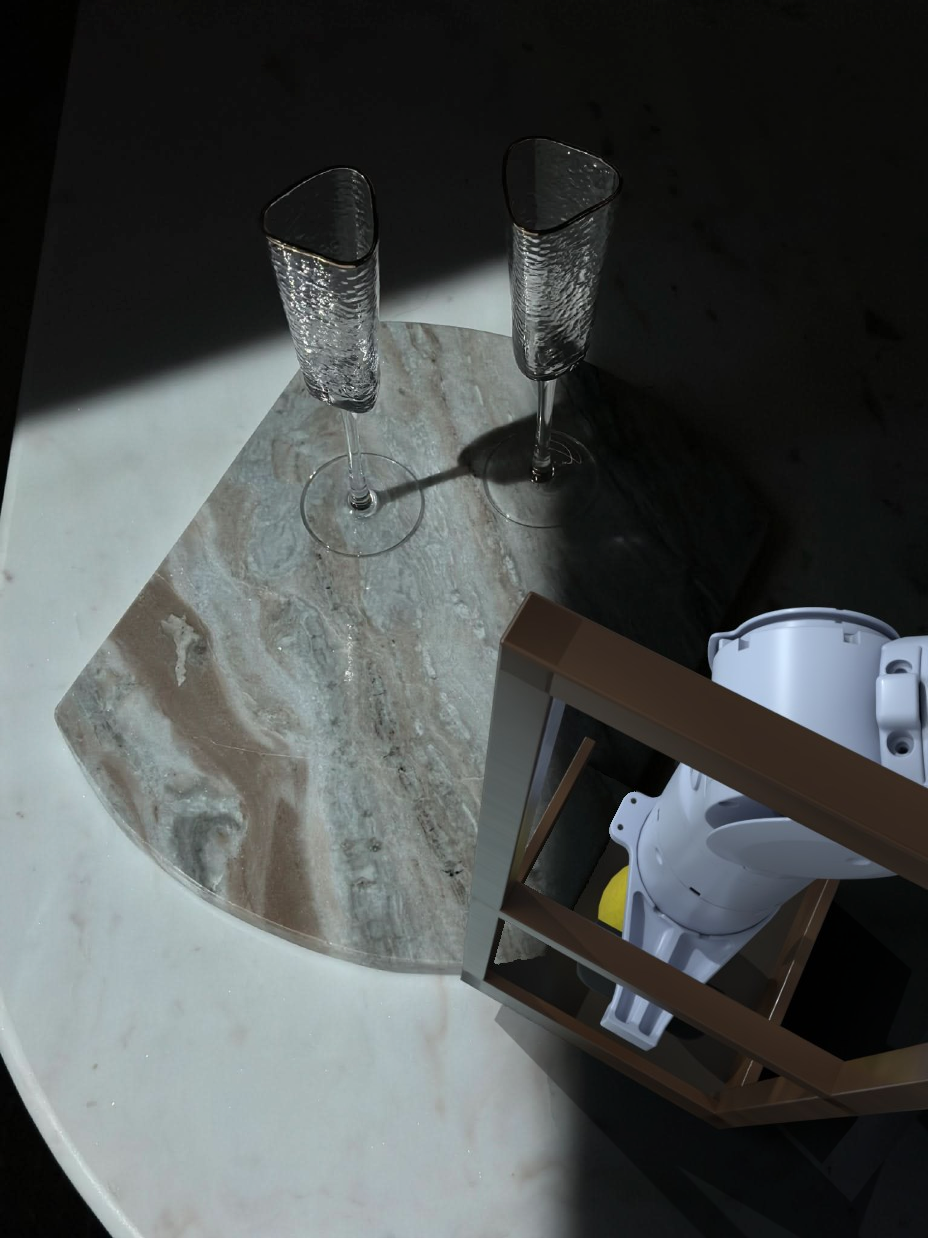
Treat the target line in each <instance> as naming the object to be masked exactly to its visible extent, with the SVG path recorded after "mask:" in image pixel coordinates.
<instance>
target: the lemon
mask: <svg viewBox="0 0 928 1238" xmlns="http://www.w3.org/2000/svg"><path fill="white" fill-rule="evenodd" d="M628 869H629V865H628V866H626V867H624V868H623V869H622V870H621V871H620V872H618V873H617V874H616V875H615V876H614V877H613V878H612V879H611V881H610V882H609V884H608V885H607V887H606V889H605V890H604V892H603V895H602V898H601V901H600V905H599V914H598V919H600V920H601V921H603V922H605V923H607V924H609V925H610V926H612V927H614V928H616V929H618V930H620V931H621V932H623V921H624V911H625V901H626V890H627V880H628Z"/></svg>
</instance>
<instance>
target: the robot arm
mask: <svg viewBox="0 0 928 1238" xmlns="http://www.w3.org/2000/svg"><path fill="white" fill-rule="evenodd" d="M707 657H708V664H709V668H710V670H711V680H712V681H714V682H716V683H718V684H720V685H722V686H724V687H726V688H728V689H730V690H732V691H734V692H736V693H738V694H740V695H742V696H744V697H746V698H748V699H750V700H752V701H754V702H756V703H758V704H760V705H762V706H764V707H766V708H768V709H770V710H772V711H774V712H776V713H778V714H780V715H782V716H784V717H786V718H788V719H790V720H792V721H794V722H796V723H798V724H800V725H802V726H804V727H806V728H808V729H810V730H812V731H814V732H816V733H818V734H820V735H822V736H824V737H826V738H828V739H830V740H832V741H834V742H836V743H838V744H840V745H842V746H844V747H846V748H848V749H850V750H852V751H854V752H856V753H858V754H860V755H862V756H864V757H866V758H868V759H870V760H872V761H874V762H876V763H878V764H880V765H882V766H884V767H886V768H888V769H890V770H892V771H894V772H896V773H898V774H900V775H902V776H904V777H906V778H908V779H910V780H912V781H914V782H916V783H918V784H920V785H922V786H924V787H926V788H928V635H915V636H904V637H901V636H900V634H899V633H898V632H897V630H895V629H894V628H893V626H890V625H889V624H888V623H886V622H884V621H883V620H880V619H878V618H877V617H873V616H871V615H868V614H864V613H861V612H858V611H853V610H848V609H842V610H841V609H837V608H835V607H820V606H819V607H816V606H815V607H811V606H810V607H809V606H808V607H791V608H784V609H778V610H774V611H770V612H765V613H762V614H760V615H757V616H754V617H752V618H750V619H748V620H746V621H745V622H742V624H740V625H739V626H738V627H737V628H736V629H734V630H730V631H725V632H715V633H713V634H711V636H710V637H709V641H708V647H707ZM674 767H675V771H674V772H673V774H672V776H671V777H670V780H669V781H668V783H667V784H666V786H665V787H664V789H663V791H662V793H661V794H660V795H659V796H657V797H651V796H649V795H647V794H645V793H643V792H641V793H639V792H640V791H639V792H635V791H634V792H630V793H628V794H627V795H626V796H625V797H624V798H623V800H622V802H621V804H620V806H619V808H618V810H617V812H616V814H615V816H614V818H613V820H612V822H611V824H610V827H609V834H610V837H611V838H612V839H613V840H614V841H615V842H616V843H618V844H620V845H622V846H623V847H625V848H626V849H627V851H628V853H629V869H628V880H627V890H626V901H625V911H624V921H623V932H621V931H620V930H618V929H616V928H614V927H612V926H610V925H609V924H607V923H605V922H603V921H601V920H600V919H597V920H596V922H595V924H597V925H599V926H601V927H603V928H604V929H606V930H608V931H610V932H612V933H613V934H615V935H617V936H619V937H621V938H622V939H624V940H626V941H628V942H630V943H632V944H633V945H635V946H637V947H639V948H641V949H642V950H644V951H646V952H648V953H650V954H651V955H653V956H655V957H657V958H659V959H660V960H662V961H664V962H666V963H668V964H669V965H671V966H673V967H675V968H677V969H678V970H680V971H682V972H684V973H686V974H687V975H689V976H691V977H693V978H695V979H697V980H698V981H700V982H702V983H704V984H706V985H707V986H709V987H711V988H713V989H715V990H716V991H718V992H720V993H722V994H724V995H725V992H724V991H722V990H721V989H719V988H717V987H715V986H713V985H712V984H710V983H708V982H707V981H708V980H709V979H710V978H711V977H712V976H713V975H714V974H716V973H717V972H718V971H719V970H720V969H721V968H722V967H723V966H724V965H725V964H726V963H727V962H728V961H729V960H730V959H731V958H732V957H733V956H734V955H735V954H736V953H737V952H738V951H739V950H740V949H741V948H742V947H743V946H744V945H745V944H746V943H747V942H748V941H749V940H750V939H751V938H752V937H753V936H754V935H755V934H756V933H757V932H758V931H759V930H761V929H762V928H763V927H764V926H765V925H766V924H767V923H768V922H769V921H770V920H771V918H772V917H773V916H774V915H775V914H776V912H777V911H778V910H779V908H780V907H781V905H783V904H784V903H785V902H786V901H788V900H789V899H790V898H792V897H793V896H794V895H796V894H797V893H798V892H800V891H801V890H802V889H804V888H805V887H806V886H808V885H809V884H810V883H812V882H813V881H814V880H816V879H817V878H819V879H841V880H867V879H868V880H869V879H878V878H879V879H881V878H887V877H894V876H899V875H898V874H896V873H894V872H892V871H890V870H888V869H886V868H884V867H882V866H880V865H878V864H876V863H875V862H873V861H871V860H869V859H867V858H865V857H863V856H861V855H859V854H857V853H855V852H853V851H851V850H849V849H847V848H845V847H844V846H842V845H840V844H838V843H836V842H834V841H832V840H830V839H828V838H826V837H824V836H822V835H820V834H818V833H816V832H814V831H813V830H811V829H809V828H807V827H805V826H803V825H801V824H799V823H797V822H795V821H793V820H791V819H789V818H787V817H785V816H783V815H782V814H780V813H778V812H776V811H774V810H772V809H770V808H768V807H766V806H764V805H762V804H760V803H758V802H756V801H754V800H752V799H751V798H749V797H747V796H745V795H743V794H741V793H739V792H737V791H735V790H733V789H731V788H729V787H727V786H725V785H723V784H721V783H720V782H718V781H716V780H714V779H712V778H710V777H708V776H706V775H704V774H702V773H700V772H698V771H696V770H694V769H692V768H690V767H689V766H687V765H685V764H683V763H681V762H679V761H677V760H675V761H674ZM642 793H643V794H642ZM644 794H645V795H644ZM646 795H647V796H646ZM648 796H649V797H648ZM632 803H633V804H632ZM618 828H619V829H621V830H619V829H618ZM577 975H578V977H579V978H580V980H581V981H582V982H583V983H584V984H585V985H586V986H588V987H589V988H591V989H592V990H594V991H596V992H598V993H599V994H601V995H603V996H605V997H606V998H608V999H610V1000H612V1002H611V1003H610V1004H609V1006H608V1008H607V1010H606V1012H605V1014H604V1016H603V1018H602V1020H601V1023H600V1024H601V1025H602V1026H603V1027H605V1028H607V1029H608V1030H610V1031H612V1032H614V1033H615V1034H617V1035H619V1036H620V1037H622V1038H624V1039H626V1040H627V1041H629V1042H631V1043H633V1044H635V1045H636V1046H638V1047H640V1048H642V1049H643V1050H645V1051H648V1050H650V1049H652V1048H654V1047H656V1046H657V1044H658V1041H659V1040H660V1038H661V1036H662V1034H663V1032H664V1030H665V1031H667V1032H668V1033H670V1034H672V1035H674V1036H675V1037H677V1038H679V1039H682V1040H685V1041H695V1040H697V1039H699V1038H701V1037H703V1036H704V1035H705V1033H704V1032H702V1031H700V1030H698V1029H697V1028H695V1027H693V1026H691V1025H689V1024H688V1023H686V1022H684V1021H682V1020H681V1019H679V1018H677V1017H675V1016H673V1015H672V1014H670V1013H668V1012H666V1011H665V1010H663V1009H661V1008H659V1007H657V1006H656V1005H654V1004H652V1003H650V1002H649V1001H647V1000H645V999H643V998H641V997H640V996H638V995H636V994H634V993H633V992H631V991H629V990H627V989H625V988H624V987H622V986H620V985H618V984H617V983H615V982H613V981H611V980H609V979H608V978H606V977H604V976H602V975H601V974H599V973H597V972H595V971H593V970H592V969H590V968H588V967H586V966H585V965H583V964H581V963H579V962H577Z"/></svg>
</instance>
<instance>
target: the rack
mask: <svg viewBox="0 0 928 1238" xmlns="http://www.w3.org/2000/svg"><path fill="white" fill-rule="evenodd" d="M494 678H495V679H494V687H493V696H492V703H491V704H492V705H491V714H490V722H489V729H488V730H489V731H488V739H487V748H486V749H487V750H486V757H485V765H484V774H483V780H482V781H483V782H482V792H481V799H480V808H479V816H478V817H479V818H478V825H477V834H476V843H475V852H474V861H473V869H472V877H471V879H472V880H471V886H470V893H469V903H468V910H467V912H468V913H467V921H466V928H465V929H466V930H465V938H464V939H465V940H464V946H463V955H462V964H461V969H460V977H459V980H460V981H461V982H463V983H464V984H466V985H469V986H470V987H472V988H474V989H475V990H477V991H478V992H480V993H481V994H484V995H485V996H487V997H489V998H491V999H492V1000H495V1002H497V1003H498V1004H501V1005H503V1006H505V1007H506V1008H507V1009H510V1010H512V1011H513V1012H515V1013H517V1014H518V1015H520V1016H522V1017H523V1018H524V1019H527V1020H529V1021H530V1022H532V1023H534V1024H536V1025H538V1026H539V1027H541V1028H542V1029H544V1030H546V1031H547V1032H550V1033H551V1034H553V1035H555V1036H556V1037H558V1038H560V1039H561V1040H563V1041H565V1042H566V1043H568V1044H570V1045H572V1046H574V1047H575V1048H577V1049H578V1050H581V1051H582V1052H584V1053H586V1054H587V1055H589V1056H591V1057H593V1059H596V1060H598V1061H600V1062H601V1063H603V1064H604V1065H606V1066H608V1067H610V1068H612V1069H613V1070H615V1071H617V1072H618V1073H620V1074H622V1075H624V1076H625V1077H627V1078H629V1079H630V1080H632V1081H634V1082H636V1083H638V1084H639V1085H641V1086H643V1087H644V1088H646V1089H648V1090H650V1091H651V1092H653V1093H655V1094H656V1095H658V1096H659V1097H662V1098H663V1099H666V1100H667V1101H669V1102H670V1103H672V1104H674V1105H676V1106H677V1107H679V1108H681V1109H683V1110H685V1112H687V1113H689V1114H691V1115H692V1116H694V1117H697V1118H698V1119H700V1120H701V1121H704V1122H705V1123H707V1124H708V1125H710V1126H712V1127H713V1128H715V1129H717V1130H724V1129H734V1128H741V1127H753V1126H763V1125H772V1124H773V1125H774V1124H784V1123H793V1122H804V1121H805V1122H806V1121H814V1120H824V1119H835V1118H836V1119H837V1118H846V1117H860V1116H861V1117H862V1116H865V1115H866V1116H867V1115H868V1116H869V1115H877V1114H886V1113H887V1114H889V1113H900V1112H908V1111H920V1110H928V1042H923V1043H919V1044H915V1045H909V1046H906V1047H901V1048H898V1049H894V1050H888V1051H885V1052H880V1053H876V1054H871V1055H866V1056H863V1057H859V1058H854V1059H850V1060H846V1061H844V1060H843V1059H841V1058H839V1057H837V1056H836V1055H834V1054H832V1053H830V1052H828V1051H827V1050H826V1049H825V1050H824V1049H823V1048H821V1047H819V1046H818V1045H816V1044H814V1043H812V1042H810V1041H808V1040H806V1038H805V1039H804V1037H802V1036H799V1034H795V1033H794V1032H792V1031H791V1030H788V1029H787V1028H785V1027H783V1026H781V1025H782V1023H783V1022H784V1021H783V1020H784V1019H785V1015H786V1014H787V1010H788V1009H789V1006H790V1004H791V1001H792V999H793V996H794V994H795V991H796V989H797V987H798V984H799V982H800V980H801V977H802V974H803V972H804V970H805V968H806V965H807V962H808V960H809V958H810V955H811V953H812V950H813V948H814V945H815V943H816V941H817V938H818V936H819V933H820V931H821V928H822V926H823V923H824V922H825V919H826V916H827V913H828V911H829V909H830V906H831V904H832V902H833V899H834V897H835V895H836V892H837V890H838V888H839V887H838V886H839V885H840V882H841V880H842V879H819V878H817V879H816V880H814V881H813V882H812V883H810V884H809V885H808V886H806V887H805V888H804V889H802V890H801V891H800V892H798V893H797V894H796V895H794V896H793V897H792V898H790V899H789V900H788V901H786V902H785V903H784V904H783V905H781V907H780V908H779V910H778V911H777V912H776V914H775V915H774V916H773V917H772V918H771V920H770V921H769V922H768V923H767V924H766V925H765V926H764V927H763V928H762V929H761V930H759V931H758V932H757V933H756V934H755V935H754V936H753V937H752V938H751V939H750V940H749V941H748V942H747V943H746V944H745V945H744V946H743V947H742V948H741V949H740V950H739V951H738V952H737V953H736V954H735V955H734V956H733V957H732V958H731V959H730V960H729V961H728V962H727V963H726V964H725V965H724V966H723V967H722V968H721V969H720V970H719V971H718V972H717V973H716V974H714V975H713V976H712V977H711V978H710V979H709V980H708V981H707V982H708V983H710V984H712V985H713V986H715V987H717V988H719V989H721V990H722V991H724V992H725V995H724V994H722V993H720V992H718V991H716V990H715V989H713V988H711V987H709V986H707V985H706V984H704V983H702V982H700V981H698V980H697V979H695V978H693V977H691V976H689V975H687V974H686V973H684V972H682V971H680V970H678V969H677V968H675V967H673V966H671V965H669V964H668V963H666V962H664V961H662V960H660V959H659V958H657V957H655V956H653V955H651V954H650V953H648V952H646V951H644V950H642V949H641V948H639V947H637V946H635V945H633V944H632V943H630V942H628V941H626V940H624V939H622V938H621V937H619V936H617V935H615V934H613V933H612V932H610V931H608V930H606V929H604V928H603V927H601V926H599V925H597V924H595V922H596V920H597V919H598V914H599V905H600V901H601V898H602V895H603V892H604V890H605V889H606V887H607V885H608V884H609V882H610V881H611V879H612V878H613V877H614V876H615V875H616V874H617V873H618V872H620V871H621V870H622V869H623V868H624V867H626V866H628V865H629V853H628V851H627V849H626V848H625V847H623V846H622V845H620V844H618V843H616V842H615V841H614V840H613V839H612V838H610V840H609V843H608V845H607V846H606V850H605V852H604V853H603V855H602V856H601V858H600V859H599V861H598V864H597V866H596V867H595V869H594V872H593V873H592V876H591V877H590V879H589V883H588V884H587V885H586V888H585V889H584V891H583V893H582V894H581V896H580V898H579V899H578V902H577V904H576V905H575V907H574V910H573V911H572V910H570V909H568V908H567V907H565V906H563V905H561V904H559V903H557V902H556V901H554V900H552V899H550V898H548V897H547V896H545V895H543V894H541V893H539V892H538V891H536V890H534V889H532V888H530V887H529V886H527V885H525V884H524V883H525V881H526V879H527V877H528V875H529V873H530V871H531V870H532V868H533V866H534V864H535V862H536V860H537V858H538V856H539V854H540V852H541V851H542V849H543V847H544V845H545V843H546V841H547V839H548V838H549V836H550V834H551V832H552V830H553V828H554V826H555V824H556V822H557V820H558V819H559V817H560V815H561V813H562V811H563V809H564V807H565V805H566V803H567V802H568V800H569V798H570V796H571V794H572V792H573V790H574V788H575V787H576V785H577V783H578V781H579V779H580V777H581V775H582V773H583V771H584V769H585V768H586V766H587V764H588V765H589V761H590V759H591V756H592V754H593V751H594V749H595V745H596V743H597V741H596V740H594V739H592V738H590V737H588V736H585V737H584V738H583V740H582V742H581V744H580V745H579V747H578V749H577V751H576V753H575V755H574V757H573V758H572V761H571V763H570V764H569V766H568V768H567V770H566V772H565V774H564V776H563V778H562V779H561V781H560V783H559V785H558V787H557V789H556V791H555V793H554V795H553V796H552V798H551V800H550V801H549V803H548V806H547V807H546V809H545V811H544V813H543V815H542V816H541V818H540V820H539V822H538V824H537V825H536V827H535V830H534V831H533V833H532V835H531V836H530V834H531V831H532V827H533V824H534V820H535V816H536V812H537V809H538V805H539V802H540V798H541V794H542V790H543V787H544V785H545V780H546V777H547V773H548V770H549V766H550V762H551V759H552V755H553V751H554V747H555V744H556V740H557V736H558V733H559V730H560V725H561V723H562V718H563V716H564V713H565V712H564V711H565V708H566V705H569V706H570V707H572V708H574V709H576V710H578V711H580V712H581V713H584V714H586V715H587V716H590V717H592V718H593V719H595V720H598V721H600V722H602V723H603V724H605V725H607V726H609V727H611V728H613V729H615V730H617V731H619V732H620V733H623V734H625V735H627V736H629V737H630V738H632V739H634V740H636V741H638V742H640V743H642V744H644V745H646V746H648V747H650V748H652V749H654V750H656V751H657V752H660V753H661V754H663V755H665V756H667V757H669V758H671V759H673V760H675V761H676V760H677V761H679V762H681V763H683V764H685V765H687V766H689V767H690V768H692V769H694V770H696V771H698V772H700V773H702V774H704V775H706V776H708V777H710V778H712V779H714V780H716V781H718V782H720V783H721V784H723V785H725V786H727V787H729V788H731V789H733V790H735V791H737V792H739V793H741V794H743V795H745V796H747V797H749V798H751V799H752V800H754V801H756V802H758V803H760V804H762V805H764V806H766V807H768V808H770V809H772V810H774V811H776V812H778V813H780V814H782V815H783V816H785V817H787V818H789V819H791V820H793V821H795V822H797V823H799V824H801V825H803V826H805V827H807V828H809V829H811V830H813V831H814V832H816V833H818V834H820V835H822V836H824V837H826V838H828V839H830V840H832V841H834V842H836V843H838V844H840V845H842V846H844V847H845V848H847V849H849V850H851V851H853V852H855V853H857V854H859V855H861V856H863V857H865V858H867V859H869V860H871V861H873V862H875V863H876V864H878V865H880V866H882V867H884V868H886V869H888V870H890V871H892V872H894V873H896V874H898V875H897V876H900V877H901V878H904V879H905V880H907V881H909V882H911V883H914V884H915V885H918V886H919V887H920V888H923V889H925V890H927V891H928V788H926V787H924V786H922V785H920V784H918V783H916V782H914V781H912V780H910V779H908V778H906V777H904V776H902V775H900V774H898V773H896V772H894V771H892V770H890V769H888V768H886V767H884V766H882V765H880V764H878V763H876V762H874V761H872V760H870V759H868V758H866V757H864V756H862V755H860V754H858V753H856V752H854V751H852V750H850V749H848V748H846V747H844V746H842V745H840V744H838V743H836V742H834V741H832V740H830V739H828V738H826V737H824V736H822V735H820V734H818V733H816V732H814V731H812V730H810V729H808V728H806V727H804V726H802V725H800V724H798V723H796V722H794V721H792V720H790V719H788V718H786V717H784V716H782V715H780V714H778V713H776V712H774V711H772V710H770V709H768V708H766V707H764V706H762V705H760V704H758V703H756V702H754V701H752V700H750V699H748V698H746V697H744V696H742V695H740V694H738V693H736V692H734V691H732V690H730V689H728V688H726V687H724V686H722V685H720V684H718V683H716V682H714V681H712V679H710V678H708V677H706V676H704V675H701V674H700V673H697V672H695V671H694V670H691V669H690V668H688V667H685V666H684V665H682V664H679V663H678V662H675V661H674V660H671V659H670V658H667V656H663V655H661V654H659V653H657V652H655V651H654V650H651V649H649V648H648V647H645V646H643V645H642V644H639V643H637V642H636V641H633V640H631V639H629V638H627V637H626V636H623V635H621V634H619V633H617V632H616V631H613V630H611V629H609V628H607V627H606V626H604V625H601V624H599V623H597V622H595V621H593V620H591V619H589V618H588V617H585V616H584V615H581V614H579V613H577V612H575V611H574V610H571V609H569V608H567V607H565V606H563V605H562V604H560V603H558V602H556V601H554V600H552V599H549V598H547V597H546V596H544V595H541V594H539V593H537V592H536V591H531V590H530V591H529V592H527V593H526V595H525V597H523V600H522V602H520V605H519V607H518V608H517V610H516V612H515V613H514V615H513V616H512V619H511V620H510V622H509V623H508V625H507V626H506V628H505V630H504V632H503V634H502V635H501V637H500V638H499V645H498V652H497V661H496V670H495V677H494ZM636 792H639V793H642V794H644V795H646V796H648V797H650V796H649V795H647V794H646V793H643V792H642V791H640V790H637V789H636ZM632 804H633V803H632ZM618 829H619V828H618ZM619 830H621V829H619ZM529 838H530V839H529ZM505 921H506V922H508V923H510V924H512V925H513V926H515V927H517V928H519V929H521V930H522V931H524V932H526V933H528V934H529V935H531V936H533V937H535V938H537V939H538V940H540V941H542V942H544V943H545V944H547V945H549V946H551V948H549V949H548V951H547V952H546V954H545V956H542V957H541V956H538V957H535V958H533V959H527V960H521V959H517V960H514V961H513V962H508V963H500V964H499V965H498V964H495V963H494V960H495V957H496V953H497V949H498V946H499V942H500V939H501V935H502V931H503V928H504V924H505ZM577 962H579V963H581V964H583V965H585V966H586V967H588V968H590V969H592V970H593V971H595V972H597V973H599V974H601V975H602V976H604V977H606V978H608V979H609V980H611V981H613V982H615V983H617V984H618V985H620V986H622V987H624V988H625V989H627V990H629V991H631V992H633V993H634V994H636V995H638V996H640V997H641V998H643V999H645V1000H647V1001H649V1002H650V1003H652V1004H654V1005H656V1006H657V1007H659V1008H661V1009H663V1010H665V1011H666V1012H668V1013H670V1014H672V1015H673V1016H675V1017H677V1018H679V1019H681V1020H682V1021H684V1022H686V1023H688V1024H689V1025H691V1026H693V1027H695V1028H697V1029H698V1030H700V1031H702V1032H704V1033H705V1035H704V1036H703V1037H701V1038H699V1039H697V1040H695V1041H685V1040H682V1039H679V1038H677V1037H675V1036H674V1035H672V1034H670V1033H668V1032H667V1031H665V1030H664V1032H663V1034H662V1036H661V1038H660V1040H659V1041H658V1044H657V1046H656V1047H654V1048H652V1049H650V1050H648V1051H645V1050H643V1049H642V1048H640V1047H638V1046H636V1045H635V1044H633V1043H631V1042H629V1041H627V1040H626V1039H624V1038H622V1037H620V1036H619V1035H617V1034H615V1033H614V1032H612V1031H610V1030H608V1029H607V1028H605V1027H603V1026H602V1025H601V1024H600V1023H601V1020H602V1018H603V1016H604V1014H605V1012H606V1010H607V1008H608V1006H609V1004H610V1003H611V1002H612V1000H610V999H608V998H606V997H605V996H603V995H601V994H599V993H598V992H596V991H594V990H592V989H591V988H589V987H588V986H586V985H585V984H584V983H583V982H582V981H581V980H580V978H579V977H578V975H577ZM764 1068H766V1069H768V1070H769V1071H770V1072H773V1073H774V1074H776V1075H778V1076H777V1077H772V1078H768V1079H764V1080H759V1079H760V1076H761V1074H762V1071H763V1069H764Z"/></svg>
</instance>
